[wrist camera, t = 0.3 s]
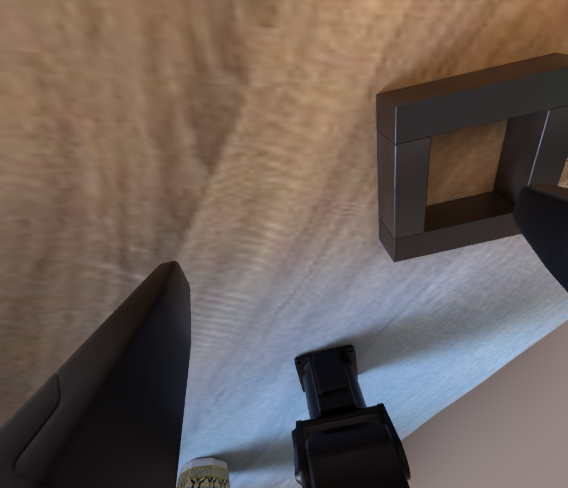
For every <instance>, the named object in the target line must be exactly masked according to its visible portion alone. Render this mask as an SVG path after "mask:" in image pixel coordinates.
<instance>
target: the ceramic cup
mask: <svg viewBox="0 0 568 488" xmlns="http://www.w3.org/2000/svg"><path fill="white" fill-rule="evenodd" d="M176 488H230V484H229V475H228V468H227V463H226V461H222V460H219V459H216V458H212V457H211V458H202V459H193V460H191V461H190V462H188V463H186V464H185V465H183V466H182V468H181V471H180V476H179V479H178V483H177V487H176Z"/></svg>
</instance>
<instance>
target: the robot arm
mask: <svg viewBox="0 0 568 488" xmlns="http://www.w3.org/2000/svg"><path fill="white" fill-rule="evenodd" d="M513 221H514V223H515V225H516V226H517V227H518V229H519V230H520V232H521V233H522V234H523V236H524V237H525V239H526V240H527V241H528V243H529V244H530V246H531V247H532V249H533V250H534V251H535V253H536V254H537V256H538V257H539V258H540V260H541V261H542V263H543V264H544V265H545V267H546V268H547V269H548V270H549V271H550V273H551V274H552V275H553V276H554V277H555V278H556V280H557V281H558V282H559V283H560V284H561V285H562V286H563V288H564V289H565V290H566V291H567V292H568V188H563V187H558V186H553V185H548V184H543V183H538V184H533V185H529V186H525V187H523V188H522V189H521V190H520V192H519V194H518V198H517V201H516V204H515V208H514V211H513ZM190 349H191V304H190V287H189V283H188V281H187V279H186V277H185V275H184V273H183V271H182V269H181V267H180V265H179V263H178V262H176V261H171V262H166V263H162V264H160V265H159V266H158V267H157V268H156V269H155V270H154V271H153V272H152V273H151V274H150V275H149V276H148V277H147V278H146V279H145V280H144V281H143V282H142V283H141V284H140V285H139V286H138V287H137V288H136V290H135V291H134V292H133V293H132V294H131V295H130V296H129V297H128V298H127V299H126V300H125V301H124V302H123V303H122V304H121V305H120V306H119V307H118V308H117V309H116V310H115V311H114V312H113V313H112V314H111V315H110V316H109V317H108V318H107V320H106V321H105V322H104V323H103V324H102V325H101V326H100V327H99V328H98V329H97V330H96V331H95V332H94V333H93V334H92V335H91V336H90V337H89V338H88V339H87V340H86V341H85V342H84V343H83V344H82V345H81V346H80V347H79V348H78V349H77V351H76V352H75V353H74V354H73V355H72V356H71V357H70V358H69V359H68V360H67V361H66V362H65V363H64V364H63V365H62V366H61V367H60V368H59V369H58V371H57V373H54V374H53V375H52V376H51V377H50V378H49V379H48V380H47V381H46V383H45V384H44V385H43V386H42V387H41V388H40V389H39V390H38V391H37V392H36V393H35V394H34V395H33V396H32V397H31V398H30V399H29V400H28V401H27V402H26V403H25V404H24V405H23V406H22V407H21V408H20V409H19V410H18V411H17V412H16V413H15V414H14V415H13V416H12V417H10V418H9V419H8V420H7V421H6V422H5V423H4V424H3V425H2V426H1V427H0V488H176V481H177V471H178V462H179V453H180V443H181V434H182V425H183V415H184V406H185V396H186V387H187V378H188V368H189V359H190ZM294 361H295V365H296V369H297V372H298V376H299V379H300V383H301V386H302V389H303V392H305V393H306V398H307V404H308V409H309V415H310V419H309V420H304V421H301V420H299V421H296V428H295V429H294V430H293V431H292V439H293V447H294V466H295V478H296V481H297V482H298V483H299V484H300V485H302V487H303V488H410V487H409V485H408V482H407V480H410V470H409V466H408V461H407V458H406V455H405V452H404V449H403V446H402V443H401V441H400V439H399V437H398V434H397V432H396V430H395V428H394V426H393V424H392V422H391V419H390V417H389V415H388V413H387V411H386V409H385V407H384V404H383V403H381V404H377V405H376V406H371V407H366V404H365V401H364V398H363V395H362V392H361V389H360V386H359V383H358V380H357V379H358V377H357V367H356V357H355V349H354V347H353V346H352V345H348V346H344V347H339V348H335V349H330V350H326V351H321V352H316V353H312V354H307V355H303V356H298V357H296V358H295V359H294Z"/></svg>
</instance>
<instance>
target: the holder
mask: <svg viewBox="0 0 568 488" xmlns="http://www.w3.org/2000/svg"><path fill="white" fill-rule="evenodd" d="M376 113H377V158H378V206H379V239H380V241H381V242H382V244H383V246H384V247H385V249H386V250H387V252H388V254H389V255H390V257H391V258H392V260H393V262H398V261H402V260H407V259H411V258H416V257H420V256H424V255H429V254H433V253H438V252H442V251H447V250H451V249H456V248H460V247H465V246H469V245H474V244H478V243H482V242H487V241H491V240H496V239H500V238H505V237H509V236H514V235H518V234H522V233H521V232H520V230H519V229H518V227H517V226H516V225H515V223H514V221H513V211H514V208H515V204H516V201H517V198H518V194H519V192H520V190H521V189H522V188H523V187H525V186H529V185H533V184H538V183H543V184H548V185H553V186H558V183H559V180H560V177H561V174H562V171H563V168H564V165H565V162H566V159H567V156H568V55H567V54H559V53H552V54H548V55H544V56H539V57H535V58H531V59H527V60H522V61H518V62H514V63H509V64H505V65H501V66H496V67H492V68H488V69H483V70H479V71H475V72H471V73H466V74H462V75H458V76H453V77H449V78H445V79H440V80H436V81H432V82H427V83H423V84H419V85H414V86H410V87H406V88H402V89H397V90H393V91H389V92H384V93H380V94H377V95H376ZM508 118H509V120H508V124H507V129H506V134H505V139H504V143H503V148H502V153H501V157H500V162H499V167H498V172H497V176H496V181H495V186H494V191H492V192H488V193H484V194H479V195H475V196H470V197H466V198H461V199H457V200H453V201H448V202H444V203H439V204H435V205H430V206H426V198H427V185H428V173H429V160H430V147H431V136H434V135H438V134H443V133H447V132H451V131H456V130H460V129H464V128H469V127H473V126H477V125H482V124H486V123H491V122H495V121H499V120H504V119H508Z"/></svg>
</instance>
